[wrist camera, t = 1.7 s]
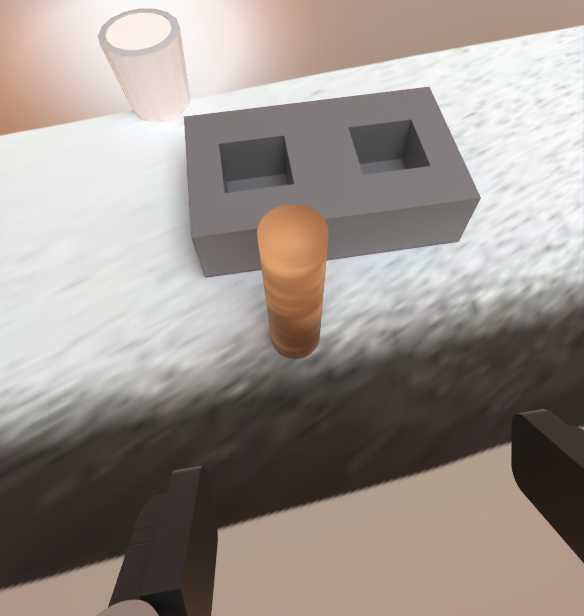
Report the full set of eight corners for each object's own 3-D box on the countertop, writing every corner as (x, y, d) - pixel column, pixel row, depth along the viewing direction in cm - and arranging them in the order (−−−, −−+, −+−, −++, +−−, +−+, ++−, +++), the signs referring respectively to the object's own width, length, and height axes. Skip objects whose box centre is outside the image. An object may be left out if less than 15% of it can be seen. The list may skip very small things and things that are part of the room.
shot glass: (141, 136, 42) (114, 65, 36) (115, 95, 45) (86, 22, 39) (208, 109, 44) (192, 37, 37) (179, 71, 46) (160, -2, 40)
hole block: (205, 277, 35) (191, 237, 30) (197, 164, 40) (183, 116, 36) (458, 241, 36) (480, 197, 31) (415, 136, 41) (429, 86, 37)
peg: (275, 362, 31) (261, 266, 21) (268, 318, 33) (253, 208, 22) (323, 354, 31) (335, 256, 21) (314, 311, 33) (321, 199, 22)
